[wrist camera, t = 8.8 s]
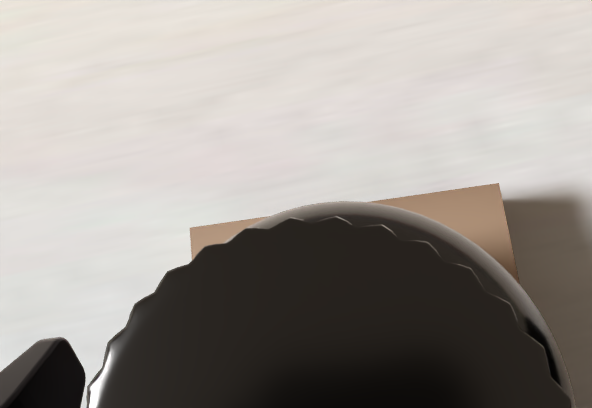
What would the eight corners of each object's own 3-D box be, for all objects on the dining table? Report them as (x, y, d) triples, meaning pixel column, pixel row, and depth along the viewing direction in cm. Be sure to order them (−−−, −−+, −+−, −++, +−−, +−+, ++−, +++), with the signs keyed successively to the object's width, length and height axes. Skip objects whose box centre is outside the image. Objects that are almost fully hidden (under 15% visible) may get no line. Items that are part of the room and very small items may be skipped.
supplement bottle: (442, 235, 17) (576, 33, 5) (515, 470, 15) (942, 908, 4) (230, 290, 18) (-57, 215, 6) (278, 522, 16) (5, 1043, 4)
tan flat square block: (546, 510, 17) (572, 540, 15) (235, 533, 18) (213, 564, 16) (484, 200, 19) (498, 183, 17) (212, 239, 21) (190, 228, 18)
